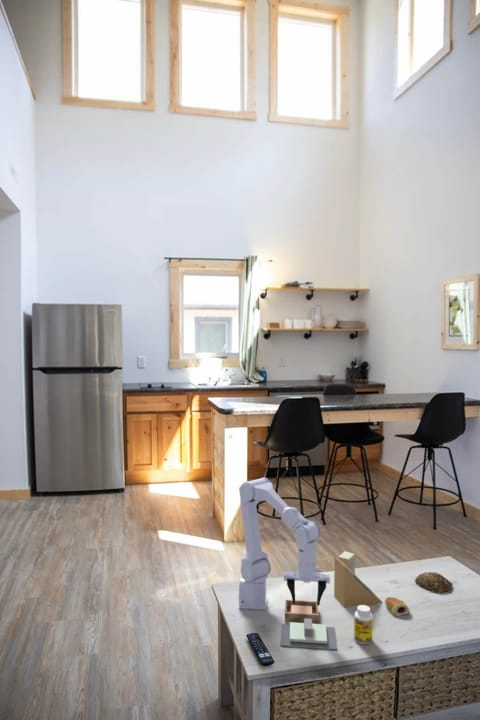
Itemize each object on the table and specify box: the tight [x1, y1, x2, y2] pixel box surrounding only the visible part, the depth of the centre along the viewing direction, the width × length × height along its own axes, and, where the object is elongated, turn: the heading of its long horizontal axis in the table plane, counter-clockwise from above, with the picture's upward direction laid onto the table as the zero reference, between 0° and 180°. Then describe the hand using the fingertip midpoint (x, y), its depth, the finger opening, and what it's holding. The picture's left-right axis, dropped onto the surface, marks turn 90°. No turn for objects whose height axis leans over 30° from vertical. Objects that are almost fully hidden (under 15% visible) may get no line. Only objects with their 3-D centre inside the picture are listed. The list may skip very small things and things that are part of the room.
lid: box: [289, 618, 327, 644], centre depth 167 cm, size 11×9×4 cm
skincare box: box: [337, 550, 356, 575], centre depth 200 cm, size 6×4×12 cm
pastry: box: [384, 596, 410, 617], centre depth 185 cm, size 9×7×4 cm
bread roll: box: [414, 571, 453, 594], centre depth 202 cm, size 13×12×5 cm
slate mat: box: [279, 623, 338, 651], centre depth 167 cm, size 17×12×1 cm
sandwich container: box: [333, 556, 383, 609], centre depth 191 cm, size 9×15×15 cm, turn 104°
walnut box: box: [284, 599, 319, 624], centre depth 180 cm, size 11×9×3 cm
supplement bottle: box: [353, 605, 374, 645], centre depth 165 cm, size 6×6×10 cm
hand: (306, 603), depth 170 cm, fingers open, 7 cm apart
